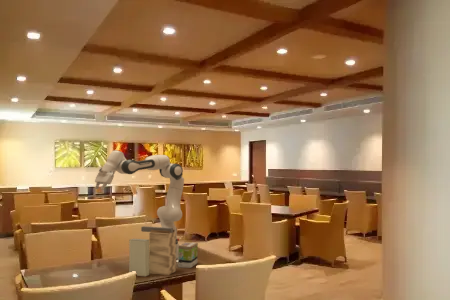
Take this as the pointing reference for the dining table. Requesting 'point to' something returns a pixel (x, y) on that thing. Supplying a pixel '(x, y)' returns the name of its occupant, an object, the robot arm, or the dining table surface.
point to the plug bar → (148, 229)
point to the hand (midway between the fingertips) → (98, 189)
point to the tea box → (188, 255)
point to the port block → (139, 256)
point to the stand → (162, 252)
